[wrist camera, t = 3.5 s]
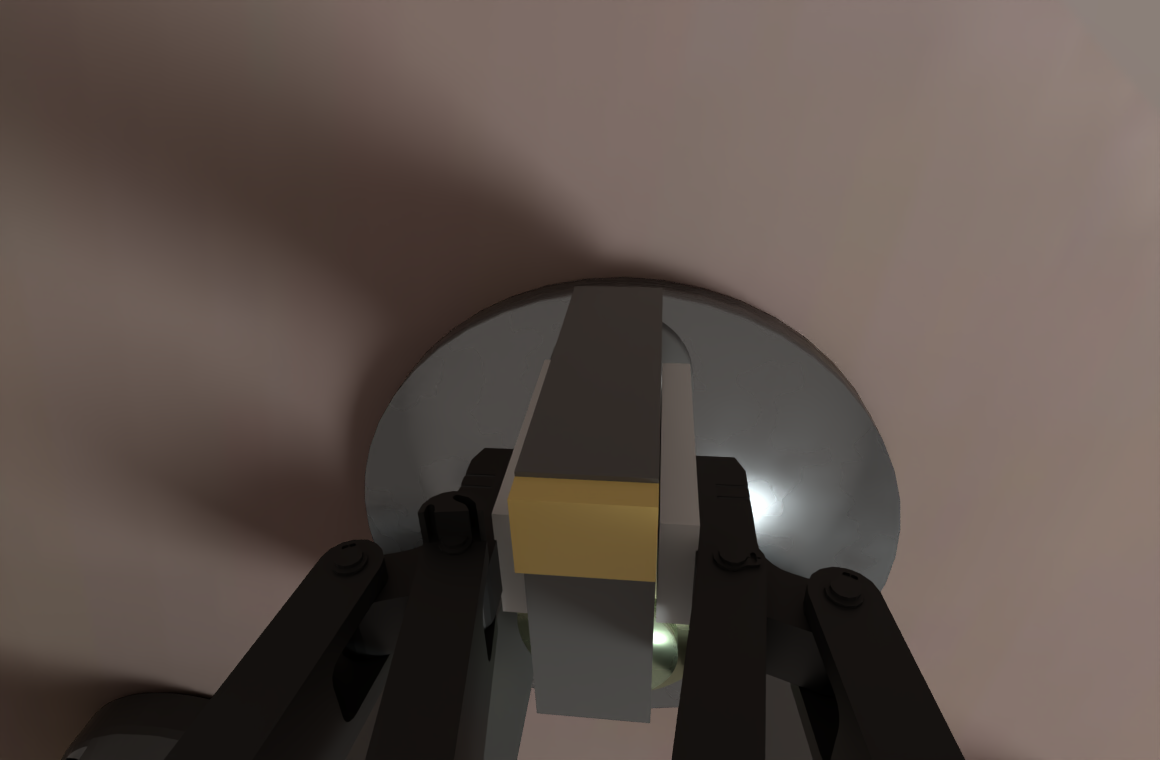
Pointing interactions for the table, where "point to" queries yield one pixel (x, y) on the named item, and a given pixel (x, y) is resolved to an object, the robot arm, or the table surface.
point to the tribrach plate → (721, 427)
